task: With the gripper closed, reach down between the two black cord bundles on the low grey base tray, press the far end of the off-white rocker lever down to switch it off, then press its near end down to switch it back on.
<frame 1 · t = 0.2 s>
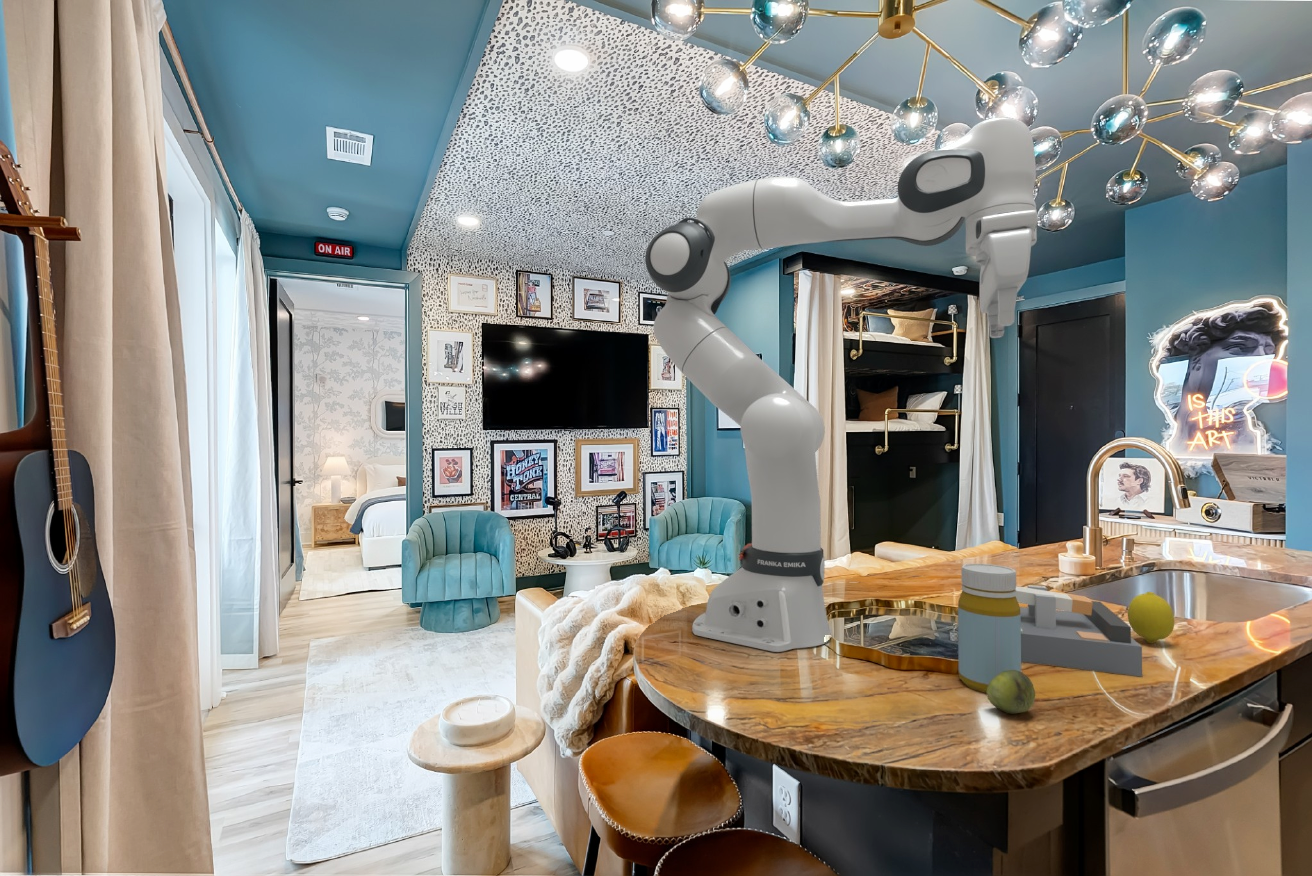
hand: (1001, 331, 84), 47 cm above the worktop, tool pointing down, fingers open, 8 cm apart
low grey base tray: (1041, 647, 89), on the worktop
lemon: (1150, 644, 91), on the worktop
lever: (1041, 598, 89), point 8 cm above the worktop, hinge at 5.0°
bottle: (989, 686, 75), on the worktop
lime: (1012, 714, 68), on the worktop
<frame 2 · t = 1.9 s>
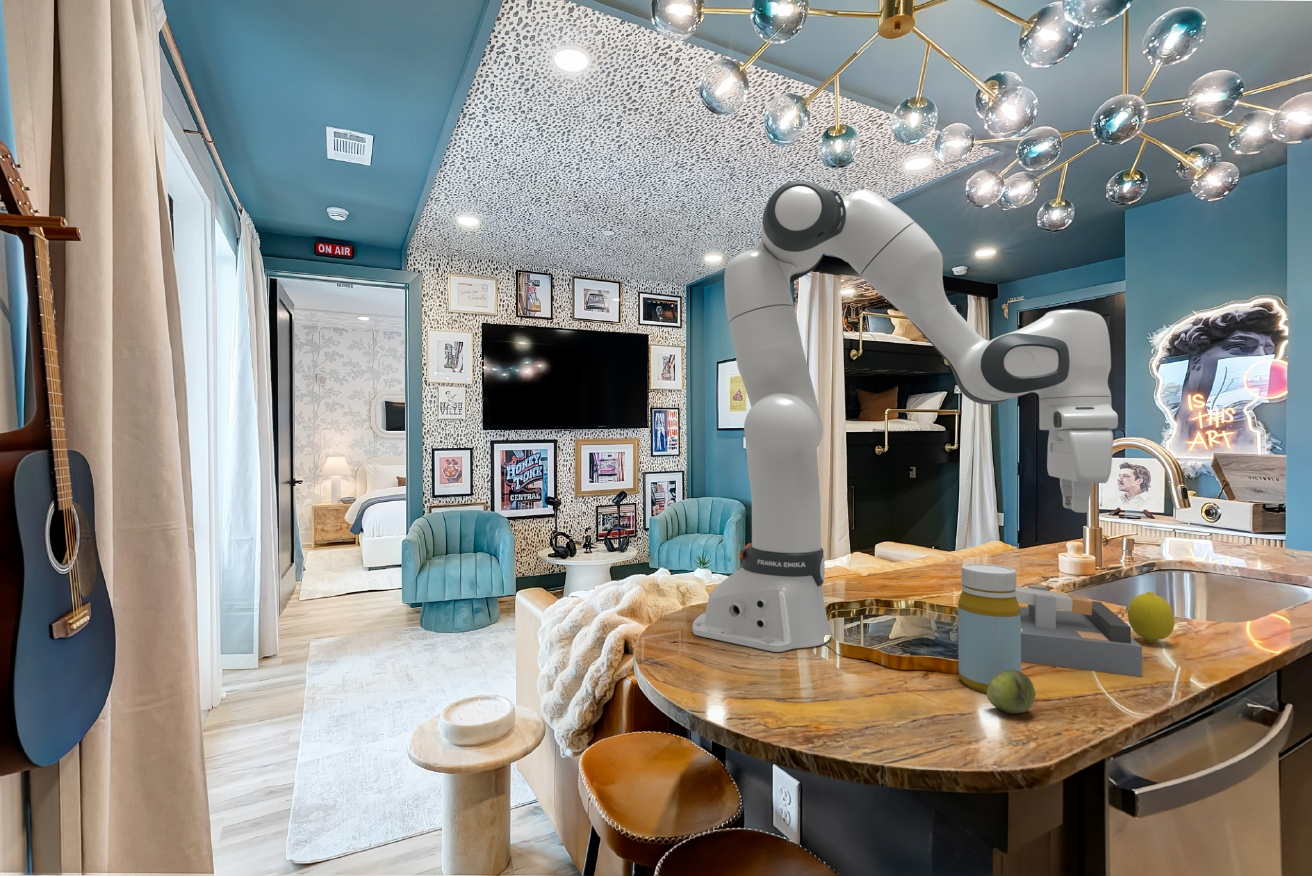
hand: (1075, 510, 88), 21 cm above the worktop, tool pointing down, fingers open, 4 cm apart
nothing on the worktop moved.
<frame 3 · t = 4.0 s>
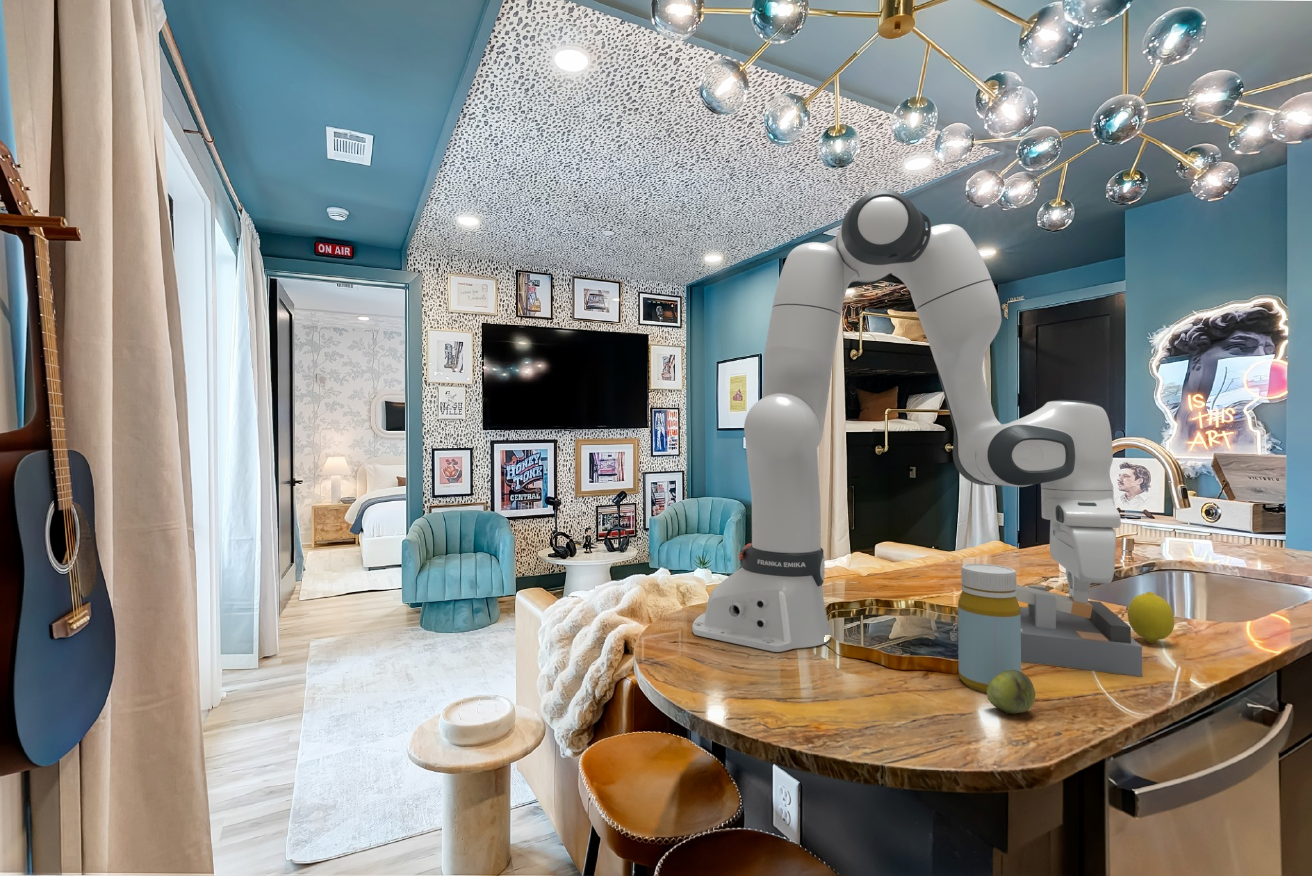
hand: (1078, 600, 87), 8 cm above the worktop, tool pointing down, fingers closed, pressing on lever
lever: (1041, 598, 89), point 8 cm above the worktop, hinge at 9.7°, touching gripper
everything else where it was.
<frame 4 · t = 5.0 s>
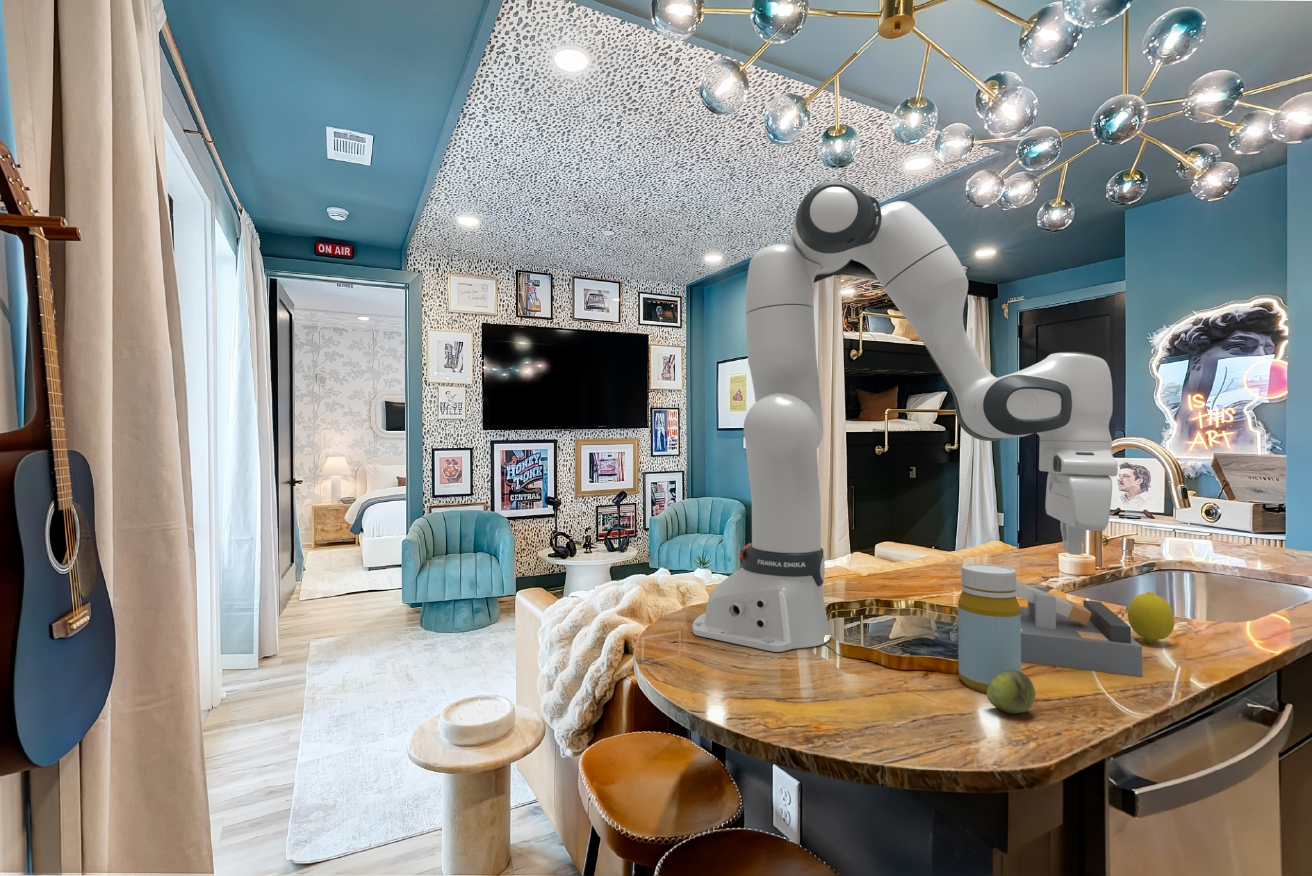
hand: (1072, 553, 88), 15 cm above the worktop, tool pointing down, fingers closed
lever: (1041, 598, 89), point 8 cm above the worktop, hinge at 20.4°
everything else where it was.
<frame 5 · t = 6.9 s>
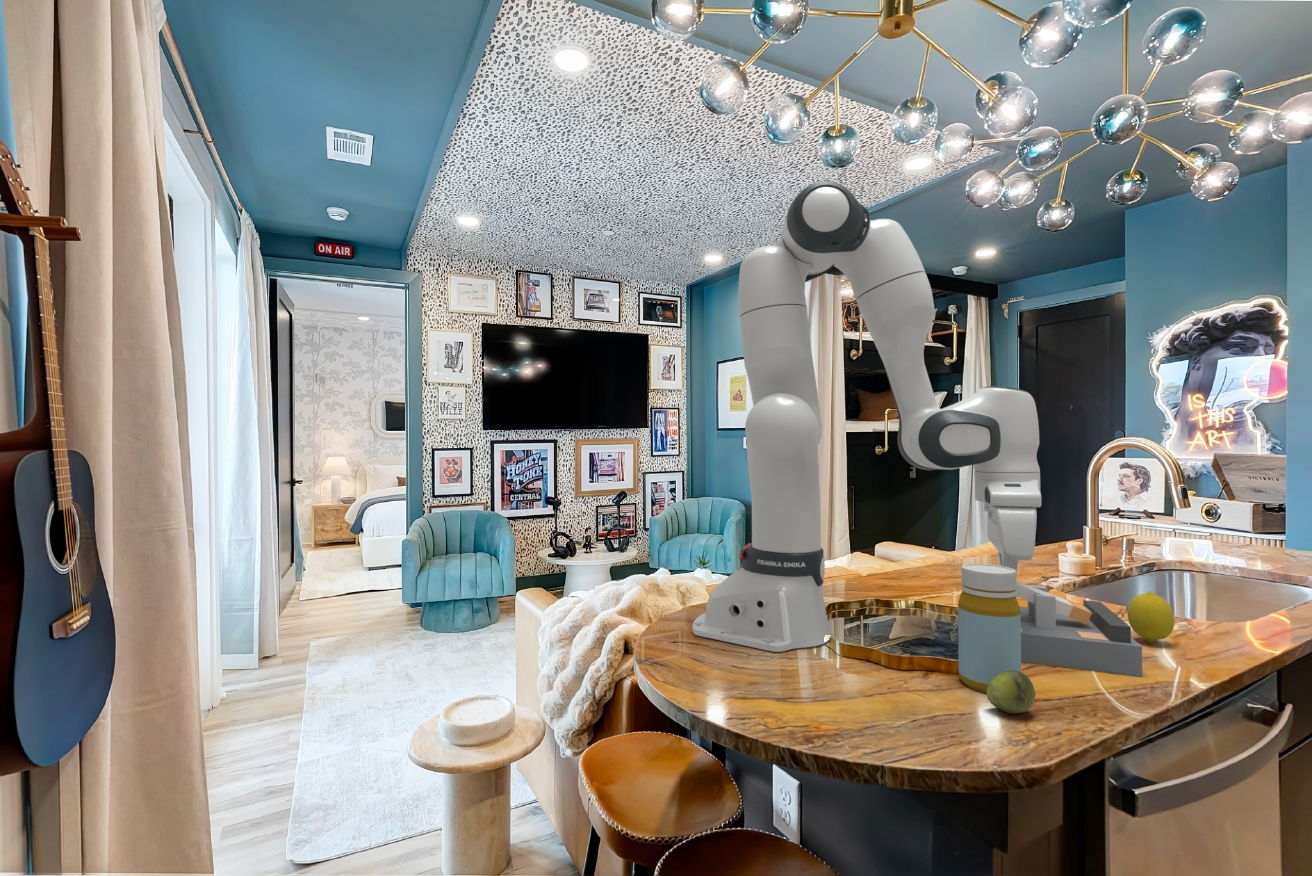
hand: (1008, 579, 91), 10 cm above the worktop, tool pointing down, fingers closed, pressing on lever
lever: (1041, 598, 89), point 8 cm above the worktop, hinge at 19.4°, touching gripper
everything else where it was.
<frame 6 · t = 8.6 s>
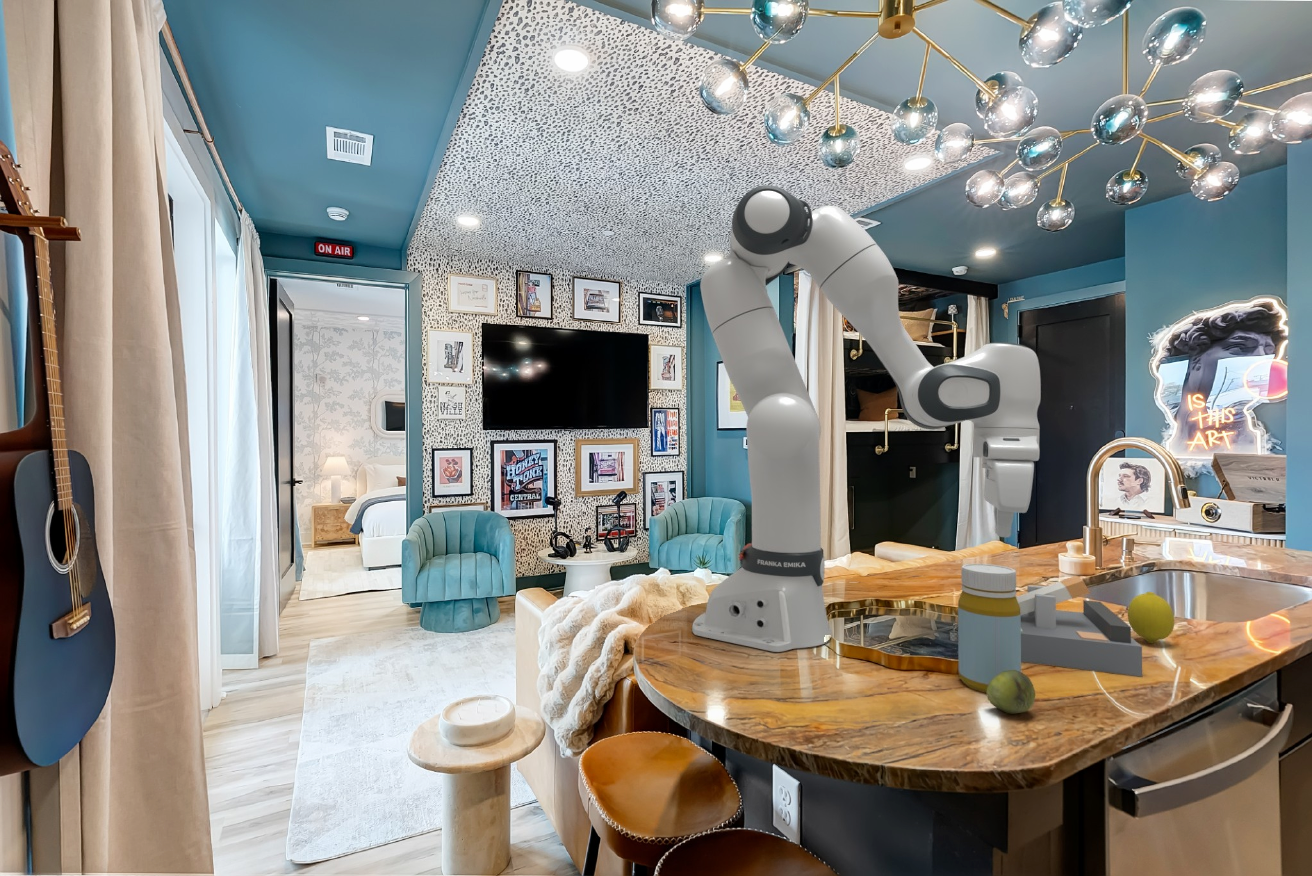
hand: (1002, 535, 91), 17 cm above the worktop, tool pointing down, fingers closed
lever: (1041, 598, 89), point 8 cm above the worktop, hinge at -26.3°
everything else where it was.
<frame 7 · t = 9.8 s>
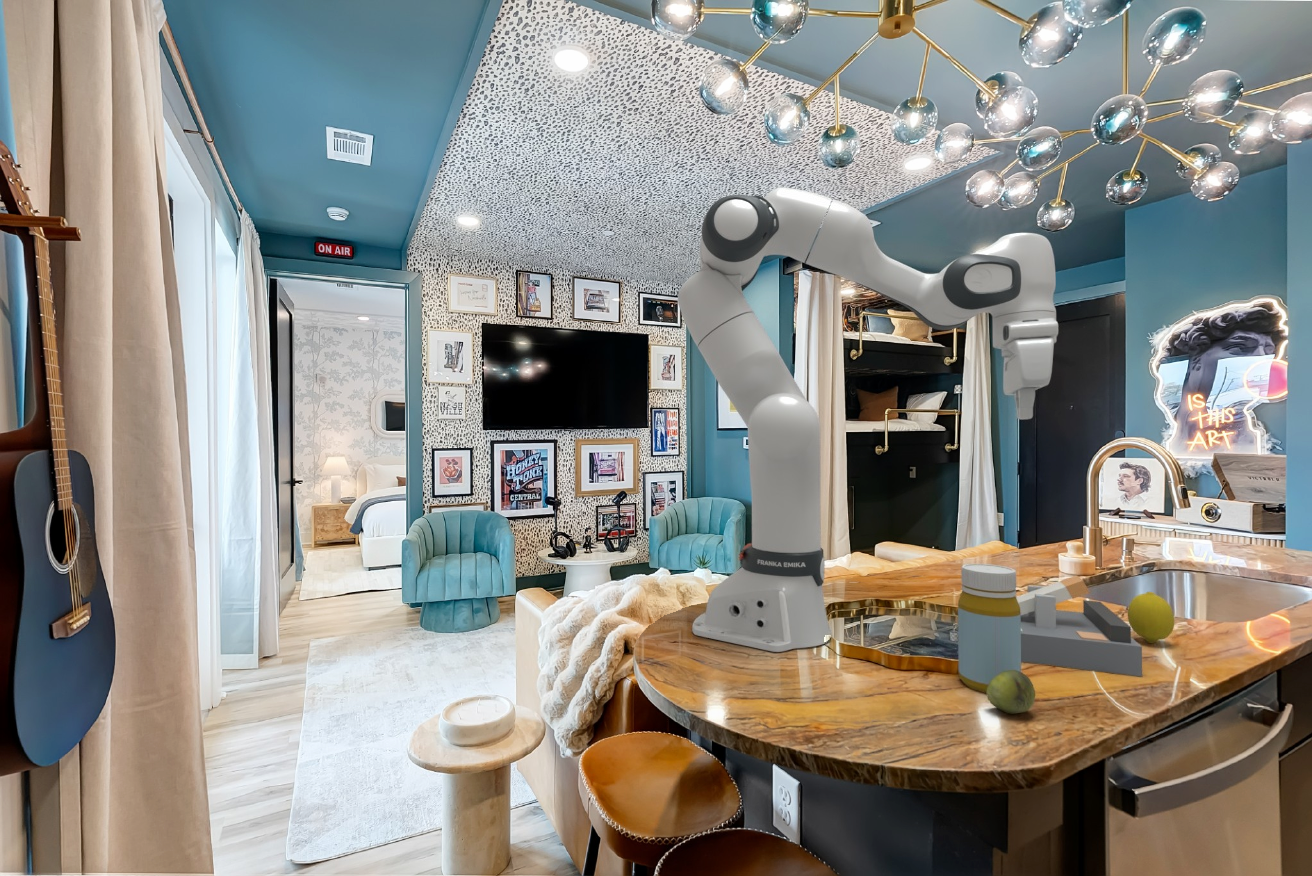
hand: (1024, 419, 96), 35 cm above the worktop, tool pointing down, fingers closed
nothing on the worktop moved.
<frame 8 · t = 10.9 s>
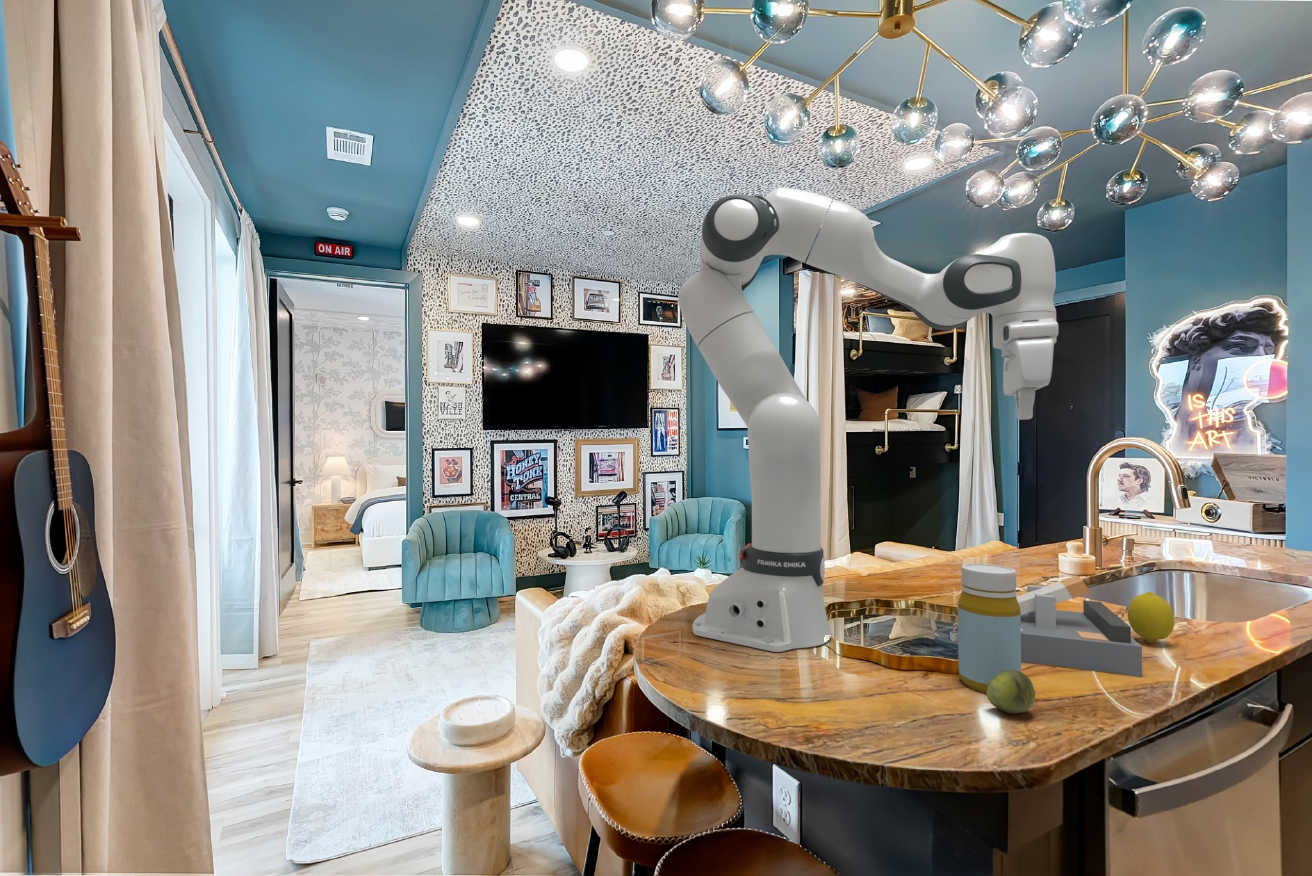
hand: (1024, 419, 96), 35 cm above the worktop, tool pointing down, fingers closed
nothing on the worktop moved.
at the end: lever at -26° (first picture: +5°); lever touching nothing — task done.
